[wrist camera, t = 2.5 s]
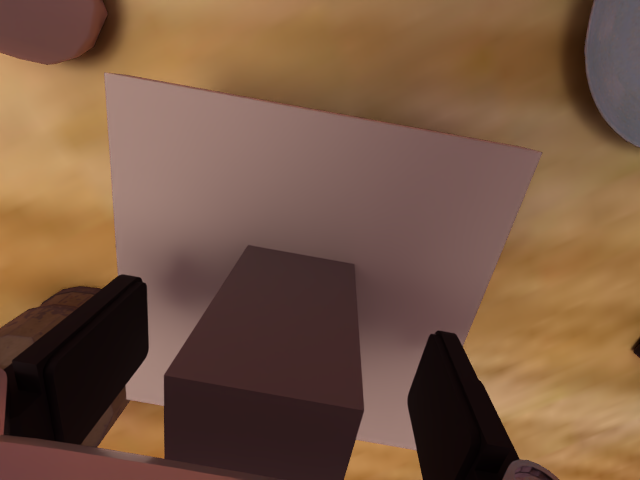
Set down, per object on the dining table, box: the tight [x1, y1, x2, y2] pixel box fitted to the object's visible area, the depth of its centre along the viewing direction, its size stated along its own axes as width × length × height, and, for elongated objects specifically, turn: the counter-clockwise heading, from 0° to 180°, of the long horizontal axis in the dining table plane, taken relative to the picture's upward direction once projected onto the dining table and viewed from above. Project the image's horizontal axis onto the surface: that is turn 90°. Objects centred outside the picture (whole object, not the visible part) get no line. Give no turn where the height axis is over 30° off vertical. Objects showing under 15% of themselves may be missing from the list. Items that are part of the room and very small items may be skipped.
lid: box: [104, 73, 542, 480], centre depth 11 cm, size 14×14×8 cm
